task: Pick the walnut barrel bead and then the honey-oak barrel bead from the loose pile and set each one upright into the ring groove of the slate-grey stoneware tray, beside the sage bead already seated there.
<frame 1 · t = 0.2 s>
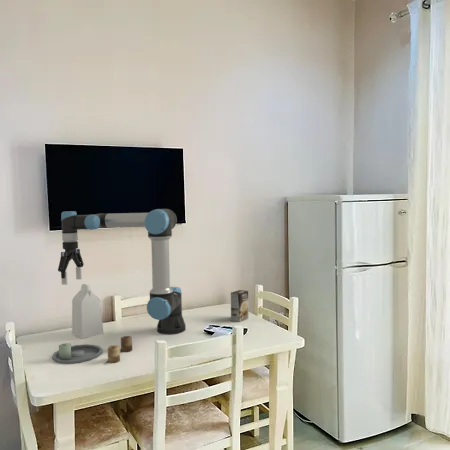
hand: (72, 281, 222), 28 cm above the table, fingers open, 13 cm apart
tray: (77, 355, 192), on the table
milk: (87, 334, 224), on the table
bead a: (126, 350, 198), on the table
bead c: (65, 358, 188), point 1 cm above the table, touching tray
bead b: (114, 360, 185), on the table
coffee box: (239, 319, 244), on the table
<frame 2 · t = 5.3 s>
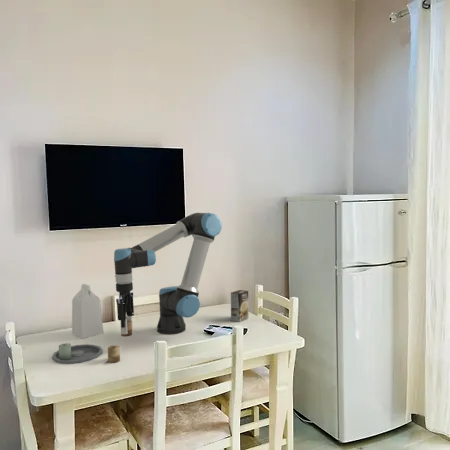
hand: (127, 331, 198), 9 cm above the table, fingers closed on bead a, 5 cm apart
bead a: (126, 334, 198), point 7 cm above the table, touching gripper
everything else where it was.
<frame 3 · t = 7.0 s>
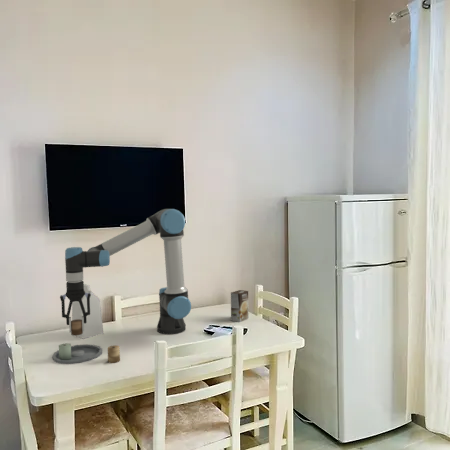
hand: (76, 330, 197), 10 cm above the table, fingers closed on bead a, 5 cm apart
bead a: (77, 333, 198), point 8 cm above the table, touching gripper
everything else where it was.
when the fingers open (1 cm above the table, at t = 8.7 s): bead a stays where it is, resting on tray.
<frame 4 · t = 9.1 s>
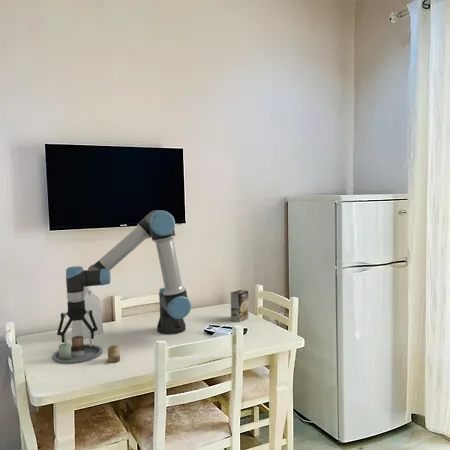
hand: (78, 347, 198), 2 cm above the table, fingers open, 10 cm apart
bead a: (77, 350, 198), point 1 cm above the table, touching tray
everything else where it was.
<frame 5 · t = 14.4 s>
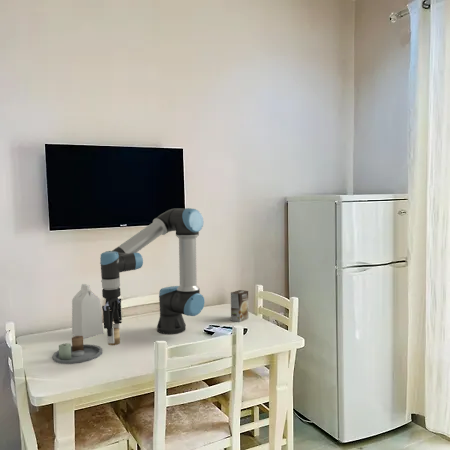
hand: (114, 340, 185), 9 cm above the table, fingers closed on bead b, 5 cm apart
bead b: (114, 343, 185), point 8 cm above the table, touching gripper
everything else where it was.
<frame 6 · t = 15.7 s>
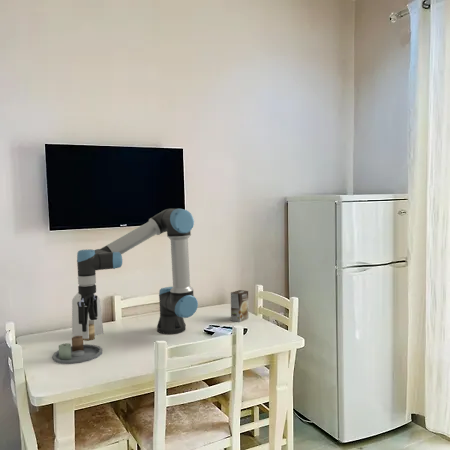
hand: (89, 336, 190), 9 cm above the table, fingers closed on bead b, 5 cm apart
bead b: (88, 338, 190), point 8 cm above the table, touching gripper
everything else where it was.
when the fingers open (1 cm above the table, at t = 17.3 s): bead b stays where it is, resting on tray.
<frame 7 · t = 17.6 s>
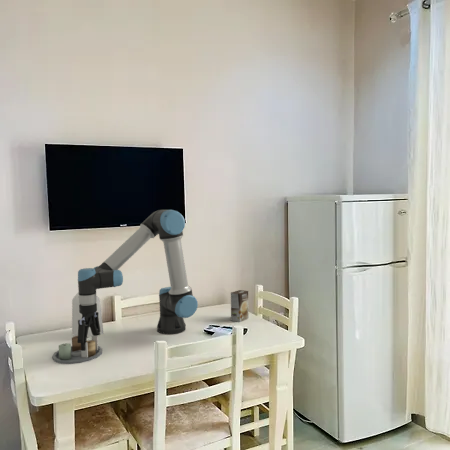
hand: (90, 353, 191), 2 cm above the table, fingers open, 8 cm apart
bead b: (89, 355, 191), point 1 cm above the table, touching tray
everything else where it was.
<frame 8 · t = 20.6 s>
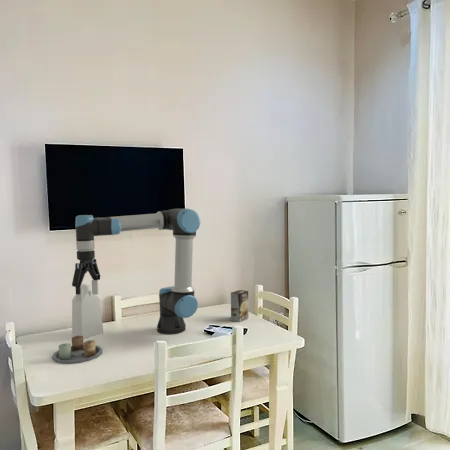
hand: (87, 297, 189), 27 cm above the table, fingers open, 13 cm apart
nothing on the table moved.
at the end: bead a 0.2 cm from the target spot on the tray, point 0.6 cm above the tray's base; bead b 0.2 cm from the target spot on the tray, point 0.6 cm above the tray's base; bead c moved 0.0 cm from its start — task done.
